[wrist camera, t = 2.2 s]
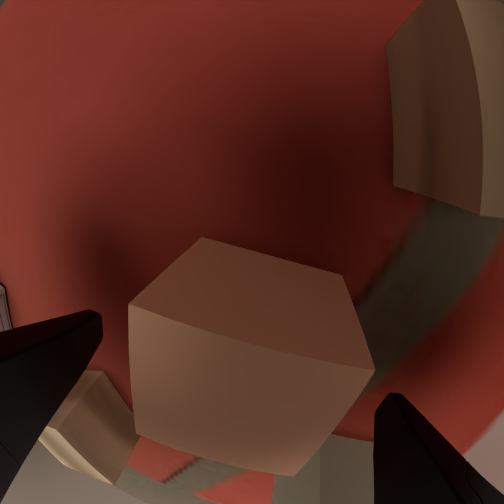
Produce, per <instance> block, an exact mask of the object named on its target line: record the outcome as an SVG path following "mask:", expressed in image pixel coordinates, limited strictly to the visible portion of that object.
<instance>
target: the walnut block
mask: <svg viewBox="0 0 504 504" xmlns="http://www.w3.org/2000/svg"><path fill="white" fill-rule="evenodd" d="M385 50H386V57H387V64H388V72H389V81H390V91H391V104H392V121H393V186H395V187H398V188H402V189H405V190H408V191H411V192H415V193H418V194H421V195H424V196H427V197H430V198H433V199H436V200H439V201H442V202H445V203H448V204H450V205H453V206H456V207H459V208H461V209H464V210H467V211H469V212H472V213H474V214H477V215H480V216H488V217H496V218H504V4H503V3H501V2H499V1H498V0H424V1H423V2H422V3H421V4H420V5H419V7H418V8H417V9H416V10H415V11H414V12H413V14H412V15H411V16H410V17H409V18H408V19H407V21H406V22H405V23H404V24H403V25H402V26H401V28H400V29H399V30H398V31H397V32H396V33H395V35H394V36H393V37H392V38H391V39H390V41H389V42H388V43H387V44H386V45H385Z"/></svg>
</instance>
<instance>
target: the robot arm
mask: <svg viewBox="0 0 504 504" xmlns="http://www.w3.org/2000/svg"><path fill="white" fill-rule="evenodd" d="M102 338H103V326H102V316H101V314H99V313H98V312H95V311H93V310H90V309H88V310H84V311H81V312H77V313H73V314H69V315H65V316H61V317H57V318H53V319H49V320H45V321H41V322H37V323H33V324H29V325H25V326H21V327H17V328H13V329H9V330H5V331H1V332H0V503H1V501H2V499H3V497H4V496H5V494H6V492H7V490H8V488H9V487H10V485H11V483H12V481H13V480H14V478H15V476H16V474H17V473H18V471H19V469H20V467H21V465H22V464H23V462H24V460H25V459H26V457H27V456H28V454H29V452H30V451H31V449H32V448H33V446H34V445H35V443H36V441H37V440H38V438H39V437H40V435H41V434H42V432H43V431H44V429H45V428H46V426H47V425H48V423H49V422H50V420H51V419H52V417H53V416H54V414H55V413H56V411H57V410H58V408H59V407H60V405H61V404H62V403H63V401H64V400H65V398H66V397H67V396H68V394H69V393H70V391H71V390H72V388H73V387H74V386H75V384H76V383H77V382H78V380H79V379H80V377H81V376H82V374H83V372H84V371H85V369H86V367H87V365H88V364H89V362H90V360H91V358H92V357H93V355H94V353H95V352H96V350H97V348H98V346H99V345H100V343H101V341H102ZM373 471H374V504H504V495H503V494H502V493H501V492H500V491H498V490H497V489H496V488H495V487H494V486H493V485H491V484H490V483H489V482H488V481H487V480H486V479H485V478H483V477H482V476H481V475H480V474H479V473H478V472H477V471H476V470H475V469H474V468H473V467H472V466H471V465H470V464H469V462H467V461H466V459H465V458H464V457H463V456H462V455H461V454H460V453H459V452H458V451H457V450H456V449H455V448H454V447H453V446H452V445H451V444H450V443H449V442H448V441H447V440H446V439H445V438H444V437H443V436H442V435H441V434H440V433H439V432H438V431H437V429H436V428H435V427H434V426H433V425H432V424H431V423H430V422H429V421H428V420H427V419H426V418H425V417H424V416H423V415H422V414H421V413H420V412H419V411H418V410H417V409H416V408H415V407H414V406H413V405H412V404H411V403H410V402H409V401H408V400H407V399H406V398H405V397H404V396H403V395H402V394H400V393H389V394H388V395H387V396H386V397H385V399H384V400H383V401H382V403H381V404H380V405H379V407H378V408H377V410H376V412H375V417H374V444H373Z"/></svg>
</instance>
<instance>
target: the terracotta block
mask: <svg viewBox="0 0 504 504" xmlns="http://www.w3.org/2000/svg"><path fill="white" fill-rule="evenodd" d="M128 336H129V364H130V380H131V392H132V403H133V412H134V421H135V429H136V434H138V435H140V436H143V437H145V438H147V439H150V440H152V441H155V442H157V443H160V444H163V445H165V446H168V447H171V448H174V449H176V450H179V451H182V452H185V453H188V454H191V455H194V456H198V457H201V458H204V459H208V460H211V461H215V462H219V463H223V464H227V465H231V466H235V467H239V468H244V469H249V470H254V471H259V472H265V473H270V474H277V475H284V476H291V477H294V476H295V475H296V473H297V472H298V471H299V470H300V469H301V468H302V467H303V466H304V465H305V464H306V463H307V462H308V460H309V459H310V458H311V457H312V456H313V455H314V454H315V452H316V451H317V450H318V449H319V448H320V447H321V445H322V444H323V443H324V442H325V441H326V439H327V438H328V437H329V436H330V434H331V433H332V432H333V431H334V429H335V428H336V427H337V425H338V424H339V423H340V421H341V420H342V419H343V417H344V416H345V415H346V413H347V412H348V411H349V409H350V408H351V407H352V405H353V404H354V402H355V401H356V399H357V398H358V397H359V395H360V394H361V392H362V391H363V389H364V388H365V386H366V385H367V383H368V382H369V380H370V378H371V377H372V375H373V374H374V372H375V371H376V370H375V367H374V364H373V361H372V357H371V354H370V351H369V348H368V345H367V342H366V339H365V336H364V333H363V331H362V328H361V325H360V322H359V319H358V316H357V314H356V311H355V308H354V305H353V303H352V300H351V297H350V295H349V292H348V289H347V287H346V284H345V282H344V279H343V276H342V275H340V274H336V273H333V272H329V271H325V270H322V269H318V268H314V267H311V266H307V265H303V264H300V263H296V262H292V261H289V260H285V259H281V258H278V257H274V256H270V255H267V254H263V253H259V252H256V251H252V250H248V249H245V248H241V247H237V246H234V245H230V244H226V243H223V242H219V241H215V240H212V239H208V238H204V237H201V238H200V239H199V240H198V241H197V242H196V243H195V244H193V245H192V246H191V247H190V248H189V249H188V250H187V251H185V252H184V253H183V254H182V255H181V256H180V257H179V258H178V259H176V260H175V261H174V262H173V263H172V264H171V265H170V266H169V267H168V268H166V269H165V270H164V271H163V272H162V273H161V274H160V275H159V276H158V277H157V278H155V279H154V280H153V281H152V282H151V283H150V284H149V285H148V286H147V287H146V288H145V289H143V290H142V291H141V292H140V293H139V294H138V295H137V296H136V297H135V298H134V299H133V300H132V301H131V302H130V303H129V304H128Z"/></svg>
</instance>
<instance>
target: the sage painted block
mask: <svg viewBox="0 0 504 504" xmlns="http://www.w3.org/2000/svg"><path fill="white" fill-rule="evenodd" d="M373 444H374V442H369V441H363V440H358V439H352V438H347V437H343V436H338V435H334V434H330V436H329V437H328V438H327V439H326V441H325V442H324V443H323V444H322V445H321V447H320V448H319V449H318V450H317V451H316V452H315V454H314V455H313V456H312V457H311V458H310V459H309V460H308V462H307V463H306V464H305V465H304V466H303V467H302V468H301V469H300V470H299V471H298V472H297V473H296V475H295V476H294V477H291V476H284V475H277V474H275V480H274V488H273V496H272V503H271V504H374V471H373Z"/></svg>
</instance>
